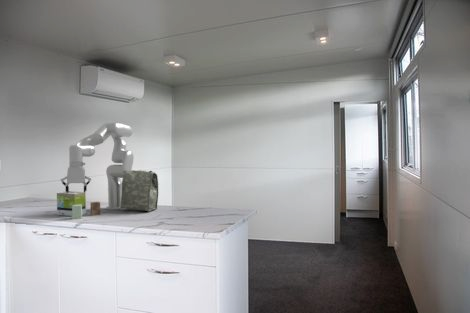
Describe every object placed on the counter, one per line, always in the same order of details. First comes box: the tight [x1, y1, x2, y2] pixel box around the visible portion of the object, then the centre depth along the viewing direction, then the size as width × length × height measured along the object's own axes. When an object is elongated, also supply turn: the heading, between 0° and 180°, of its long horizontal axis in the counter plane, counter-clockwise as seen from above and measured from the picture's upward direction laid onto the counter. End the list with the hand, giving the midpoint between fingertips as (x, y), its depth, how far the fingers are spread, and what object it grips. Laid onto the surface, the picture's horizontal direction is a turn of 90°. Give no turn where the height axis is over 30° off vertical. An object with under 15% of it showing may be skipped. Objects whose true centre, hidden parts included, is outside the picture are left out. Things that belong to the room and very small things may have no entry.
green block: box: [71, 205, 83, 220], centre depth 211 cm, size 5×5×8 cm
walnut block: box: [90, 201, 101, 216], centre depth 222 cm, size 5×5×8 cm
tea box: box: [56, 190, 87, 217], centre depth 223 cm, size 15×10×15 cm, turn 71°
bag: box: [120, 169, 159, 212], centre depth 236 cm, size 22×16×27 cm
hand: (76, 192), depth 211 cm, fingers open, 9 cm apart
